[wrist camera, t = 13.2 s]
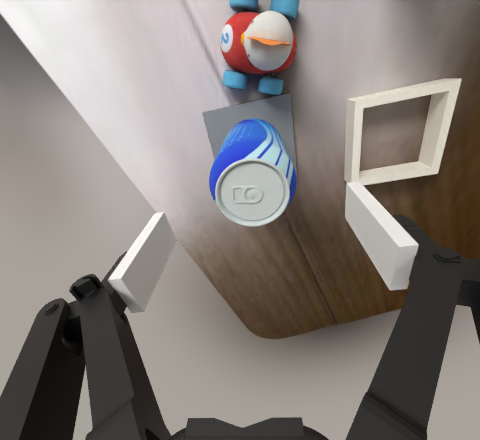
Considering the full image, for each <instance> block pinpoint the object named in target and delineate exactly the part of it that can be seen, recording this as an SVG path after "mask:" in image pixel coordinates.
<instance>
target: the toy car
mask: <svg viewBox="0 0 480 440" xmlns="http://www.w3.org/2000/svg"><path fill="white" fill-rule="evenodd" d="M257 5H258V0H230V7H231V8H232V9H233V10H235V11H237V12H239V13H237V14H235V15H233V16H232V17H231V18H230V19H229V20H228V21H227V22H226V24H225V25H224V27H223V30H222V33H221V38H220V45H221V51H222V54H223V56H224V58H225V60H226V62H227V63H228V65H229V66H230V67H231V68H232V69H234V70H236V71H237V72H235V71H229V70H226V71H225V72H224V77H223V85H224V86H226V87H231V88H237V89H245V88H246V85H247V73H249V74H260V75H262V76H261V78H260V80H259V87H258V90H259V92H261V93H266V94H273V95H280V94H281V92H282V88H283V80H282V79H278V78H274V77H271V76H269V75H268V74H270V75H272V76H274V74H275V73H279V72H282V71H284V70H285V69H287V68H288V67H289V66H290V64H291V63H292V61H293V59H294V57H295V53H296V47H297V44H296V37H295V35H294V33H293V31H292V28H291V25H290V23H289V21H292V20H295V18H296V16H297V12H298V7H299V0H271V5H270V11H266V12H263V13H261V14H259V13H255V12H256V10H257Z"/></svg>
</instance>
